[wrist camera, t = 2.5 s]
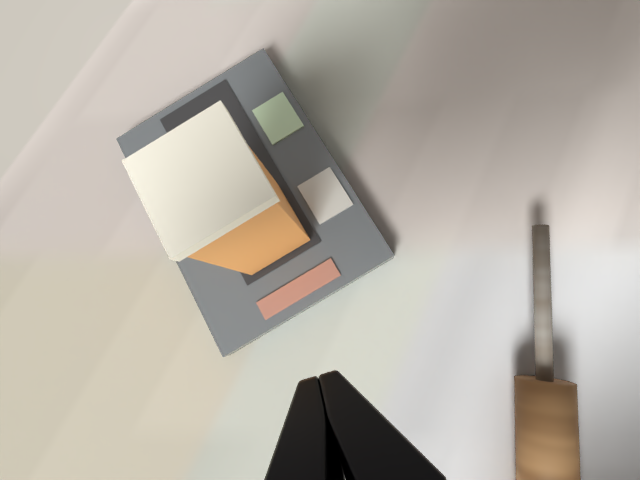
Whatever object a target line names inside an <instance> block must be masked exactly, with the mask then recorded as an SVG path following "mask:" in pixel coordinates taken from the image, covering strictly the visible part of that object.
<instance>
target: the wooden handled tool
mask: <svg viewBox="0 0 640 480" xmlns="http://www.w3.org/2000/svg"><path fill="white" fill-rule="evenodd" d="M532 240H533V285H534V330H535V375H536V376H529V375H517V376H514V380H515V453H516V480H581V478H580V452H579V427H578V401H577V384H575V383H572V382H569V381H565V380H560V379H554V373H553V339H552V305H551V271H550V237H549V225H534V226H532Z"/></svg>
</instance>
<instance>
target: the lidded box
mask: <svg viewBox="0 0 640 480" xmlns="http://www.w3.org/2000/svg"><path fill="white" fill-rule="evenodd" d="M122 162H123V164H124V166H125V168H126V171H127V173H128V175H129V177H130V179H131V181H132V183H133V185H134V187H135V189H136V191H137V193H138V195H139V197H140V199H141V201H142V204H143V206H144V208H145V210H146V212H147V214H148V216H149V218H150V220H151V222H152V224H153V226H154V228H155V230H156V232H157V234H158V237H159V239H160V241H161V243H162V245H163V247H164V249H165V251H166V253H167V255H168V257H169V259H170V260H174V261H178V262H180V261H181V260H183V259H185V258H186V257H188V258H192V259H196V260H199V261H203V262H206V263H210V264H213V265H217V266H221V267H224V268H228V269H231V270H235V271H238V272H242V273H246V274H249V275H253V274H255V273H256V272H258V271H260V270H261V269H263V268H265V267H266V266H268V265H270V264H271V263H273V262H275V261H276V260H278V259H280V258H281V257H283V256H285V255H286V254H288V253H290V252H291V251H293V250H295V249H296V248H298V247H300V246H301V245H303V244H305V243H306V242H308V241H310V238H309V237H308V235H307V233H306V231H305V230H304V228H303V226H302V225H301V223H300V221H299V219H298V218H297V216H296V214H295V213H294V211H293V209H292V207H291V206H290V204H289V202H288V201H287V199H286V197H285V195H284V194H283V192H282V190H281V189H280V187H279V185H278V184H277V182H276V181H275V180H274V178H273V177H272V176H271V174H270V173H269V172H268V170H267V169H266V168H265V167H264V165H263V164H262V163H261V161H260V160H259V159H258V157H257V156H256V155H255V153H254V152H253V151H252V149H251V148H250V147H249V145H248V144H247V143H246V141H245V139H244V138H243V136H242V134H241V132H240V131H239V129H238V127H237V125H236V124H235V122H234V120H233V119H232V117H231V115H230V113H229V112H228V110H227V108H226V107H225V106H224V104H223V103H222V102H221V100H220V101H218V102H217V103H215V104H213V105H212V106H210V107H209V108H207V109H205V110H204V111H202V112H200V113H199V114H197V115H195V116H194V117H192V118H191V119H189V120H187V121H186V122H184V123H182V124H181V125H179V126H178V127H176V128H174V129H173V130H171V131H169V132H168V133H166V134H164V135H163V136H161V137H160V138H158V139H156V140H155V141H153V142H151V143H150V144H148V145H147V146H145V147H143V148H142V149H140V150H138V151H137V152H135V153H134V154H132V155H130V156H129V157H127V158H125V159H124V160H122Z"/></svg>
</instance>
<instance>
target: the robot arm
mask: <svg viewBox="0 0 640 480" xmlns="http://www.w3.org/2000/svg"><path fill="white" fill-rule="evenodd" d="M344 476H345V477H344ZM345 479H346V480H446V477H445V476H444V475H443V474H442V473H441V472H440V471H439V470H438V469H437V468H436V467H435V466H434V465H433V464H432V463H431V462H430V461H429V460H428V459H427V458H426V457H425V456H424V455H423V454H422V453H421V452H420V451H419V450H418V449H417V448H416V447H415V446H414V445H413V444H412V443H411V442H410V441H409V440H408V439H407V438H406V437H404V436H403V435H402V434H401V433H400V432H399V431H398V430H397V429H396V428H395V427H394V426H393V425H392V424H391V423H390V422H389V421H388V420H387V419H386V418H385V417H384V416H383V415H382V414H381V413H380V412H379V411H378V410H377V409H376V408H375V407H374V406H373V405H372V404H371V403H370V402H369V401H368V400H367V399H366V398H365V397H364V396H363V395H362V394H361V393H360V392H359V391H358V390H357V389H356V388H355V387H354V386H353V385H352V384H351V383H350V382H349V381H348V380H347V379H346V378H345V377H344V376H343V375H341V374H340V373H339V372H338V371H336V370H334V371H331V372H327V373H324V374H321V375H320V376H319V379H318V377H316V376H314V377H311V378H307V379H304V380H301V381H300V382H299V383H298V385H297V388H296V391H295V394H294V396H293V399H292V402H291V405H290V408H289V411H288V414H287V416H286V419H285V422H284V425H283V428H282V431H281V434H280V436H279V439H278V442H277V445H276V448H275V451H274V454H273V456H272V459H271V462H270V465H269V468H268V471H267V474H266V476H265V479H264V480H345Z"/></svg>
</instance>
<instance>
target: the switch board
mask: <svg viewBox="0 0 640 480" xmlns="http://www.w3.org/2000/svg"><path fill="white" fill-rule="evenodd" d="M220 100H221V102H222V103H223V104H224V106H225V107H226V108H227V110H228V112H229V113H230V115H231V117H232V119H233V120H234V122H235V124H236V125H237V127H238V129H239V131H240V132H241V134H242V136H243V138H244V139H245V141H246V143H247V144H248V145H249V147H250V148H251V149H252V151H253V152H254V153H255V155H256V156H257V157H258V159H259V160H260V161H261V163H262V164H263V165H264V167H265V168H266V169H267V170H268V172H269V173H270V174H271V176H272V177H273V178H274V180H275V181H276V182H277V184H278V185H279V187H280V189H281V190H282V192H283V194H284V195H285V197H286V199H287V201H288V202H289V204H290V206H291V207H292V209H293V211H294V213H295V214H296V216H297V218H298V219H299V221H300V223H301V225H302V226H303V228H304V230H305V231H306V233H307V235H308V237H309V238H310V241H308V242H306V243H305V244H303V245H301V246H300V247H298V248H296V249H295V250H293V251H291V252H290V253H288V254H286V255H285V256H283V257H281V258H280V259H278V260H276V261H275V262H273V263H271V264H270V265H268V266H266V267H265V268H263V269H261V270H260V271H258V272H256V273H255V274H253V275H249V274H246V273H242V272H238V271H235V270H231V269H228V268H224V267H221V266H217V265H213V264H210V263H206V262H203V261H199V260H196V259H192V258H188V257H186V258H185V259H183V260H181V261H180V262H178V261H176V262H177V264H178V266H179V268H180V270H181V272H182V274H183V276H184V278H185V280H186V283H187V285H188V287H189V289H190V291H191V293H192V295H193V297H194V299H195V301H196V303H197V305H198V307H199V309H200V311H201V313H202V315H203V317H204V319H205V321H206V323H207V326H208V328H209V330H210V332H211V334H212V336H213V338H214V340H215V342H216V344H217V346H218V348H219V350H220V352H221V354H222V356H223V357H225V356H228V355H231V354H232V353H234V352H236V351H237V350H239V349H241V348H243V347H244V346H246V345H248V344H249V343H251V342H253V341H254V340H256V339H258V338H259V337H261V336H263V335H264V334H266V333H268V332H269V331H271V330H273V329H275V328H276V327H278V326H280V325H281V324H283V323H285V322H286V321H288V320H290V319H291V318H293V317H295V316H296V315H298V314H300V313H302V312H303V311H305V310H307V309H308V308H310V307H312V306H313V305H315V304H317V303H318V302H320V301H322V300H323V299H325V298H327V297H328V296H330V295H332V294H334V293H335V292H337V291H339V290H340V289H342V288H344V287H345V286H347V285H349V284H350V283H352V282H354V281H355V280H357V279H359V278H360V277H362V276H364V275H366V274H367V273H369V272H371V271H372V270H374V269H376V268H377V267H379V266H381V265H382V264H384V263H386V262H387V261H389V260H391V259H393V258H394V254H393V252H392V251H391V249H390V247H389V246H388V244H387V243H386V241H385V239H384V238H383V236H382V235H381V233H380V232H379V230H378V228H377V227H376V225H375V224H374V222H373V220H372V219H371V217H370V216H369V214H368V213H367V211H366V209H365V208H364V206H363V205H362V203H361V202H360V200H359V198H358V197H357V195H356V194H355V192H354V190H353V189H352V187H351V186H350V184H349V183H348V181H347V179H346V178H345V176H344V175H343V173H342V172H341V170H340V168H339V167H338V165H337V164H336V162H335V160H334V159H333V157H332V156H331V154H330V153H329V151H328V149H327V148H326V146H325V145H324V143H323V142H322V140H321V138H320V137H319V135H318V134H317V132H316V130H315V129H314V127H313V126H312V124H311V123H310V121H309V119H308V118H307V116H306V115H305V113H304V112H303V110H302V108H301V107H300V105H299V104H298V102H297V100H296V99H295V97H294V96H293V94H292V93H291V91H290V89H289V88H288V86H287V85H286V83H285V82H284V80H283V78H282V77H281V75H280V74H279V72H278V70H277V69H276V67H275V66H274V64H273V63H272V61H271V59H270V58H269V56H268V55H267V53H266V52H265V50H264V48H263V49H261V50H260V51H258V52H256V53H255V54H253V55H252V56H250V57H248V58H247V59H245V60H243V61H242V62H240V63H239V64H237V65H235V66H234V67H232V68H230V69H229V70H227V71H226V72H224V73H222V74H221V75H219V76H217V77H216V78H214V79H213V80H211V81H209V82H208V83H206V84H204V85H203V86H201V87H200V88H198V89H196V90H195V91H193V92H191V93H190V94H188V95H187V96H185V97H183V98H182V99H180V100H178V101H177V102H175V103H174V104H172V105H170V106H169V107H167V108H165V109H164V110H162V111H161V112H159V113H157V114H156V115H154V116H152V117H151V118H149V119H148V120H146V121H144V122H143V123H141V124H139V125H138V126H136V127H135V128H133V129H131V130H130V131H128V132H126V133H125V134H123V135H122V136H120V137H118V138H117V141H118V143H119V145H120V147H121V149H122V152H123V154H124V156H125V158H127V157H129V156H130V155H132V154H134V153H135V152H137V151H138V150H140V149H142V148H143V147H145V146H147V145H148V144H150V143H151V142H153V141H155V140H156V139H158V138H160V137H161V136H163V135H164V134H166V133H168V132H169V131H171V130H173V129H174V128H176V127H178V126H179V125H181V124H182V123H184V122H186V121H187V120H189V119H191V118H192V117H194V116H195V115H197V114H199V113H200V112H202V111H204V110H205V109H207V108H209V107H210V106H212V105H213V104H215V103H217V102H218V101H220Z"/></svg>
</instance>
